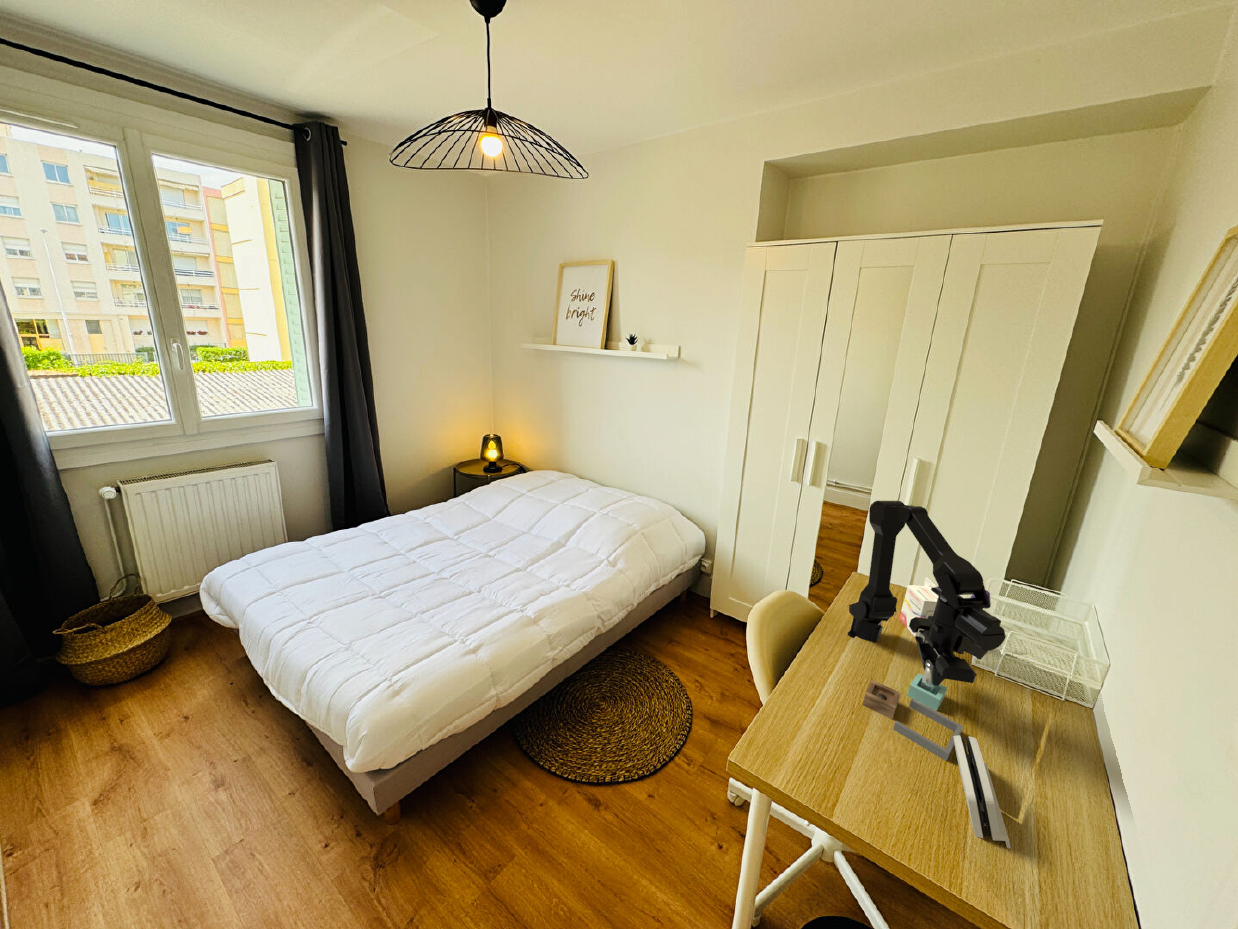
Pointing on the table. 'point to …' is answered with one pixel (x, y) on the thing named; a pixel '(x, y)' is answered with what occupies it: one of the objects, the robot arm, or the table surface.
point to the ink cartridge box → (918, 603)
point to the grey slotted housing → (988, 807)
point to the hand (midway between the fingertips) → (930, 678)
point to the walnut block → (881, 699)
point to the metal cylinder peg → (927, 680)
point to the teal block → (926, 693)
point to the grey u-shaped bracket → (924, 741)
